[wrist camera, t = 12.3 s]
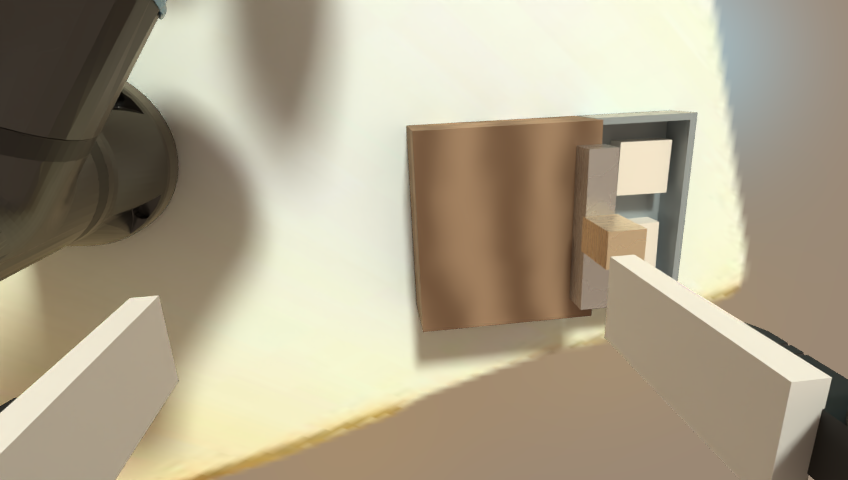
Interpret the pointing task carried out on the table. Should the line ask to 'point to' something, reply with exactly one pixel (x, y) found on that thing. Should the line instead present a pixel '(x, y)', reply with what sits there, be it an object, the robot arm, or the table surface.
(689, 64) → the table surface
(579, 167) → the gray bar with knob
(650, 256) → the tile
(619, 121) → the box
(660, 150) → the tile
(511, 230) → the wood grain panel
